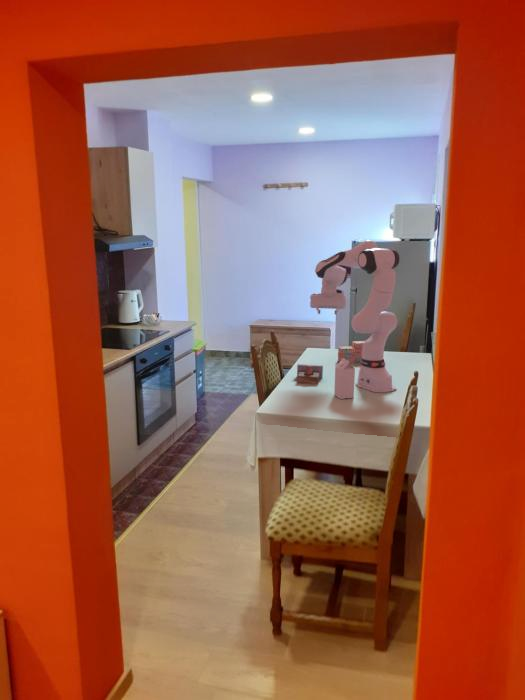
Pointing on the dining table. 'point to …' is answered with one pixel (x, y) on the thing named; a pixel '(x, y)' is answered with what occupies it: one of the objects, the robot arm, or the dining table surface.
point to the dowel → (308, 370)
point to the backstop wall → (314, 368)
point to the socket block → (308, 377)
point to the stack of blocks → (351, 352)
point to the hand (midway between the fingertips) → (327, 313)
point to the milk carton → (344, 380)
